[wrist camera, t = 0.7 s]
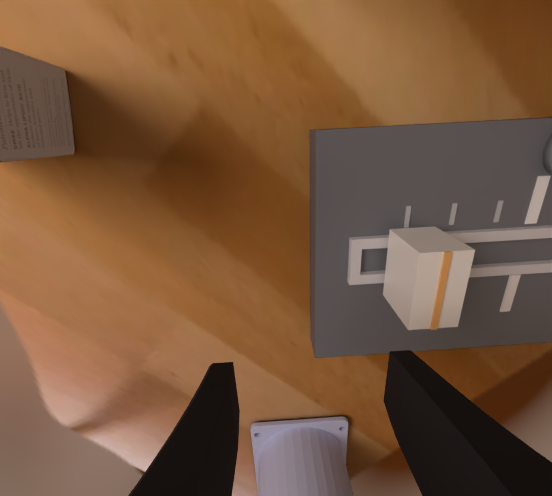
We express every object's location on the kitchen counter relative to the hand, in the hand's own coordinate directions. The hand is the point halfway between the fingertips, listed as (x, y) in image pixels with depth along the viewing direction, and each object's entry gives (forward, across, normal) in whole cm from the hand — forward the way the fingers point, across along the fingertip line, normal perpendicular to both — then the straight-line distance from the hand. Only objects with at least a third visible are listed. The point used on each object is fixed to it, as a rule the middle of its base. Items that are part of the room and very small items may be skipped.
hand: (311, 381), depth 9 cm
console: (+10, -10, 0) cm, 14 cm away
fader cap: (+8, -7, 0) cm, 10 cm away
